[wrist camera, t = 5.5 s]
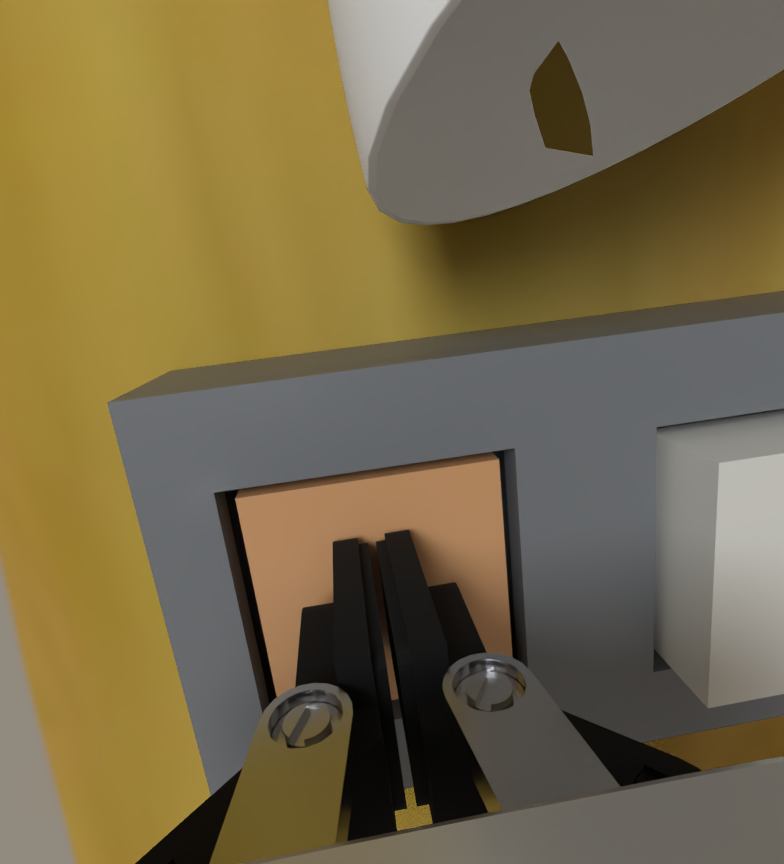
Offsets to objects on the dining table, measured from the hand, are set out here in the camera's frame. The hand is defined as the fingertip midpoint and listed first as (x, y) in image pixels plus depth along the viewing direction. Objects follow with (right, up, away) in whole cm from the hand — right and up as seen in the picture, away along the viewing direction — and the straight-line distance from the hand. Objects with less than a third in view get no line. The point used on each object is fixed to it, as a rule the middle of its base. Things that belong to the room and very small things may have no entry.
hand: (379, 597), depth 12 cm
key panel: (+4, +2, +4) cm, 6 cm away
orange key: (0, +1, +2) cm, 2 cm away
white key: (+9, +1, +1) cm, 9 cm away
